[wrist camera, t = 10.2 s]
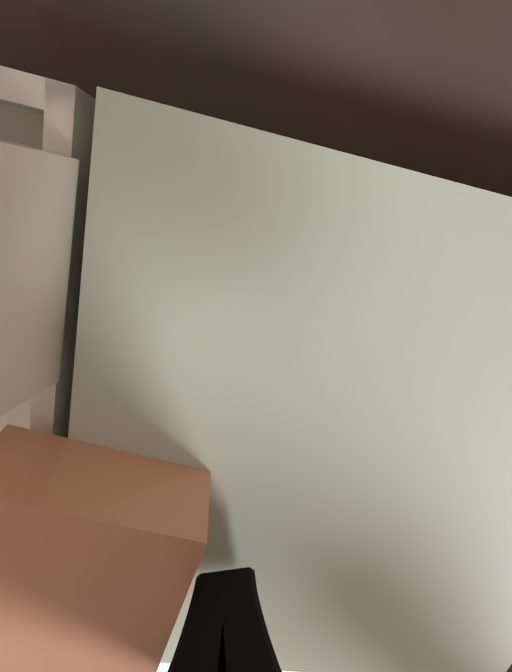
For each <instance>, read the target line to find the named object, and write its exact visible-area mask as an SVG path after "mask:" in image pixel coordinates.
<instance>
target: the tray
mask: <svg viewBox="0 0 512 672" xmlns="http://www.w3.org/2000/svg"><path fill="white" fill-rule="evenodd" d="M95 102H96V99H94V98H93V97H91V96H90V95H89V94H87V93H86V92H84V91H83V90H81V89H80V88H79V87H77V86H76V85H72V84H68V83H64V82H61V81H57V80H53V79H49V78H45V77H42V76H38V75H34V74H30V73H27V72H23V71H19V70H15V69H11V68H8V67H4V66H0V139H4V140H8V141H11V142H15V143H19V144H23V145H26V146H30V147H34V148H37V149H41V150H45V151H49V152H52V153H56V154H60V155H64V156H67V157H71V158H75V159H78V160H80V161H79V172H78V183H77V194H76V204H75V215H74V226H73V237H72V248H71V258H70V269H69V280H68V291H67V301H66V312H65V323H64V334H63V345H62V355H61V366H60V377H59V381H58V382H57V383H55V384H53V385H52V386H50V387H48V388H47V389H45V390H43V391H42V392H40V393H38V394H37V395H35V396H33V397H32V398H30V399H28V400H27V401H25V402H23V403H22V404H20V405H18V406H17V407H15V408H13V409H12V410H10V411H8V412H7V413H5V414H3V415H2V416H0V431H1V430H2V429H3V428H4V427H5V426H6V425H7V424H10V425H14V426H19V427H23V428H27V429H31V430H36V431H40V432H44V433H48V434H53V435H57V436H61V437H65V438H68V431H69V419H70V407H71V394H72V382H73V370H74V358H75V346H76V334H77V321H78V309H79V297H80V285H81V273H82V260H83V248H84V236H85V224H86V212H87V200H88V187H89V175H90V163H91V151H92V139H93V126H94V114H95Z"/></svg>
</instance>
